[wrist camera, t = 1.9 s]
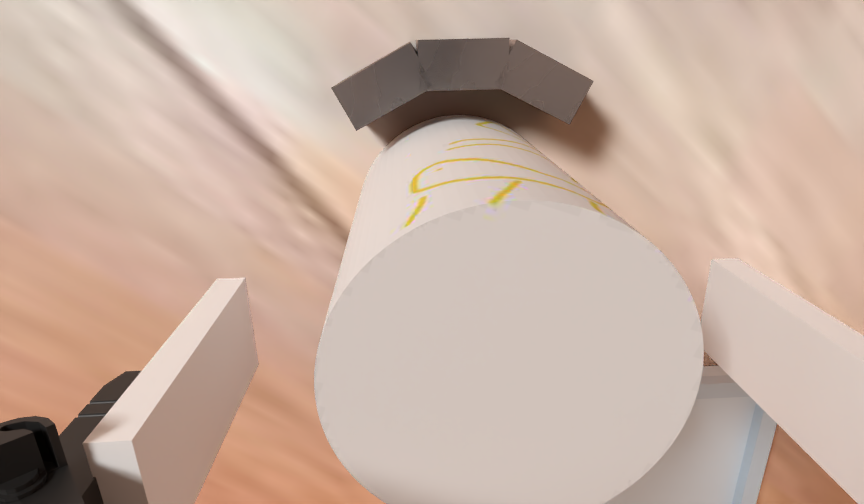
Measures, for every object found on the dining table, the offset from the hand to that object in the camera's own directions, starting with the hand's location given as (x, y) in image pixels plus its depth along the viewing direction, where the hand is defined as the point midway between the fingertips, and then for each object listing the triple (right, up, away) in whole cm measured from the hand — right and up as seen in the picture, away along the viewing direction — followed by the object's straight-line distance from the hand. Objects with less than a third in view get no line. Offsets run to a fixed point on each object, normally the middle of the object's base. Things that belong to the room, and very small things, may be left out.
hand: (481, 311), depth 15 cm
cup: (0, +3, +7) cm, 8 cm away
